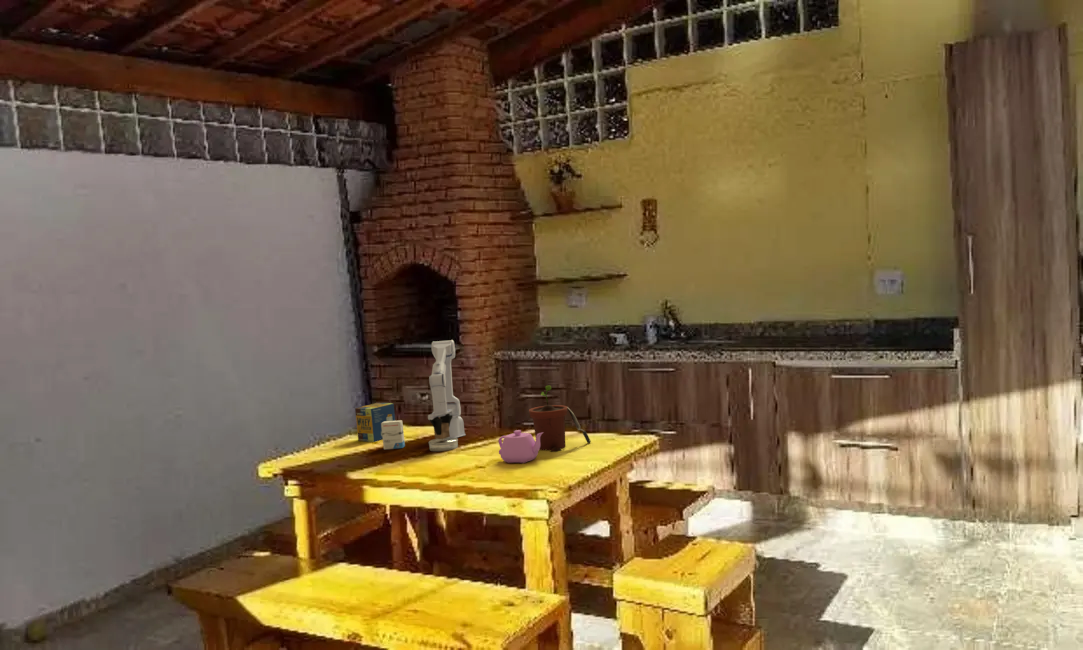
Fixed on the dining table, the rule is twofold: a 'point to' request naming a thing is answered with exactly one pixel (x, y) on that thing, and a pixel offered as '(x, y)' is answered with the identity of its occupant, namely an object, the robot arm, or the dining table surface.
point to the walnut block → (443, 431)
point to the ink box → (393, 434)
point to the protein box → (373, 420)
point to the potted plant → (552, 425)
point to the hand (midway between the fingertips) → (442, 433)
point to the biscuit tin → (443, 444)
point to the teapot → (519, 447)
